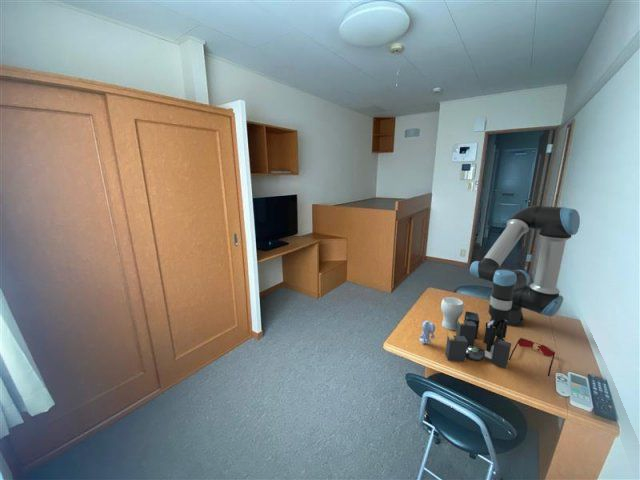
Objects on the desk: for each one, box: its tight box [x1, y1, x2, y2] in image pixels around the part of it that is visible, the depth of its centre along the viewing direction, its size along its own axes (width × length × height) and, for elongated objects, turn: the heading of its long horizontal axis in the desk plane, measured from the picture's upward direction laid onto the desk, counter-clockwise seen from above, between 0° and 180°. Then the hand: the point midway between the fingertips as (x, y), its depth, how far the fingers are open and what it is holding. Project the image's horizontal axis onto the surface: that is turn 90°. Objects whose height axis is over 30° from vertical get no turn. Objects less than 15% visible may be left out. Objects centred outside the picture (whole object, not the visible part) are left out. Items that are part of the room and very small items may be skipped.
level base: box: [465, 343, 486, 363], centre depth 120 cm, size 10×10×4 cm
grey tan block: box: [455, 318, 477, 345], centre depth 129 cm, size 7×4×11 cm, turn 81°
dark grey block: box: [445, 332, 468, 363], centre depth 117 cm, size 7×4×11 cm, turn 81°
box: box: [463, 310, 480, 340], centre depth 135 cm, size 8×6×11 cm
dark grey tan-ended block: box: [486, 336, 512, 369], centre depth 114 cm, size 7×4×11 cm, turn 46°
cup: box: [440, 296, 464, 331], centre depth 142 cm, size 11×11×15 cm
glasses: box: [508, 337, 556, 377], centre depth 118 cm, size 14×16×5 cm
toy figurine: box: [419, 320, 436, 345], centre depth 128 cm, size 7×6×12 cm
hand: (492, 354), depth 117 cm, fingers open, 5 cm apart
